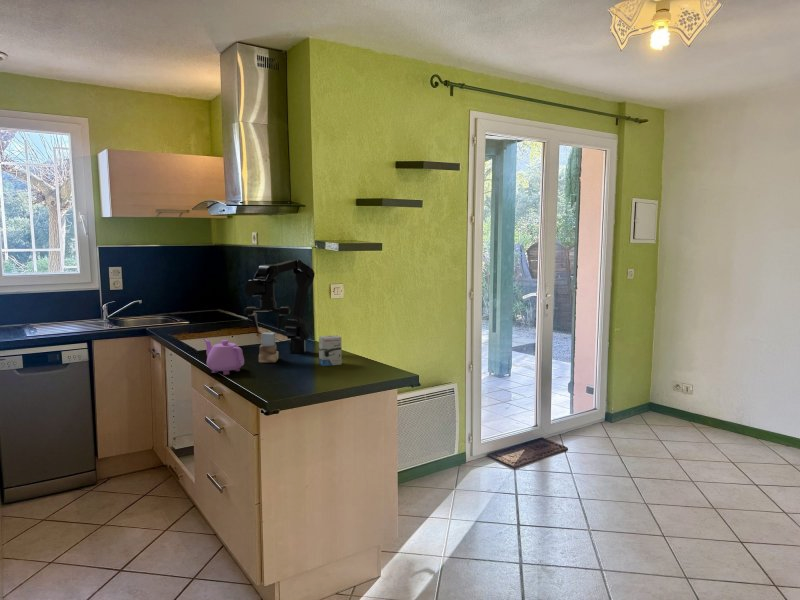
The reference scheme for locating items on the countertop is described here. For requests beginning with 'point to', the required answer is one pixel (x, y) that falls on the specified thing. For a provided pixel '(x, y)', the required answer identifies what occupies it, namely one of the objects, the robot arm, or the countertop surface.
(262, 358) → the oak base slab
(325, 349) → the ink box
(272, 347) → the walnut mid slab
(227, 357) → the teapot
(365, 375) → the countertop surface
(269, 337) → the pale blue cube
